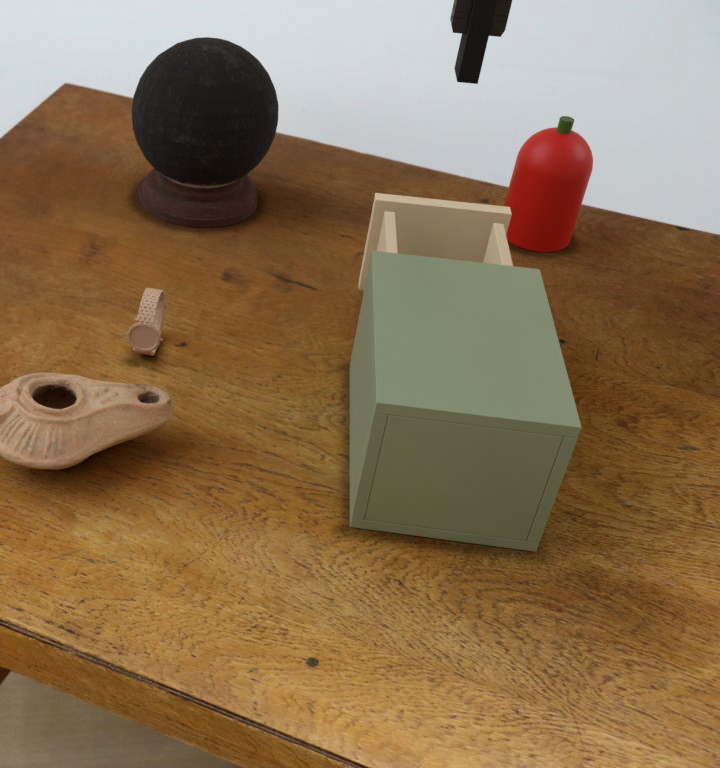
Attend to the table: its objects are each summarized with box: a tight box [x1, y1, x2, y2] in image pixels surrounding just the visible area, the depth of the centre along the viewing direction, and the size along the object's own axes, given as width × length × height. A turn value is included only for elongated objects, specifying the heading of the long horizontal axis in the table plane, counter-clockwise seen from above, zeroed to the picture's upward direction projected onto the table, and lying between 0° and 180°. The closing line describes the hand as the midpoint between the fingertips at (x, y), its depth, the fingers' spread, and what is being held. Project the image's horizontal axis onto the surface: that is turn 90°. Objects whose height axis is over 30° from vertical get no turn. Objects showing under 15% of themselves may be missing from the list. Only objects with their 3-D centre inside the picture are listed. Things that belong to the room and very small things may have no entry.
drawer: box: [358, 192, 514, 291], centre depth 85 cm, size 22×10×8 cm, turn 172°
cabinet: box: [349, 251, 582, 553], centre depth 74 cm, size 18×12×10 cm, turn 172°
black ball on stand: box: [131, 36, 279, 229], centre depth 100 cm, size 13×13×15 cm
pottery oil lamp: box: [0, 372, 175, 471], centre depth 73 cm, size 9×12×7 cm
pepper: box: [503, 115, 594, 253], centre depth 98 cm, size 6×6×11 cm
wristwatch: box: [126, 287, 167, 356], centre depth 83 cm, size 3×5×5 cm, turn 167°
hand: (465, 75), depth 83 cm, fingers closed
